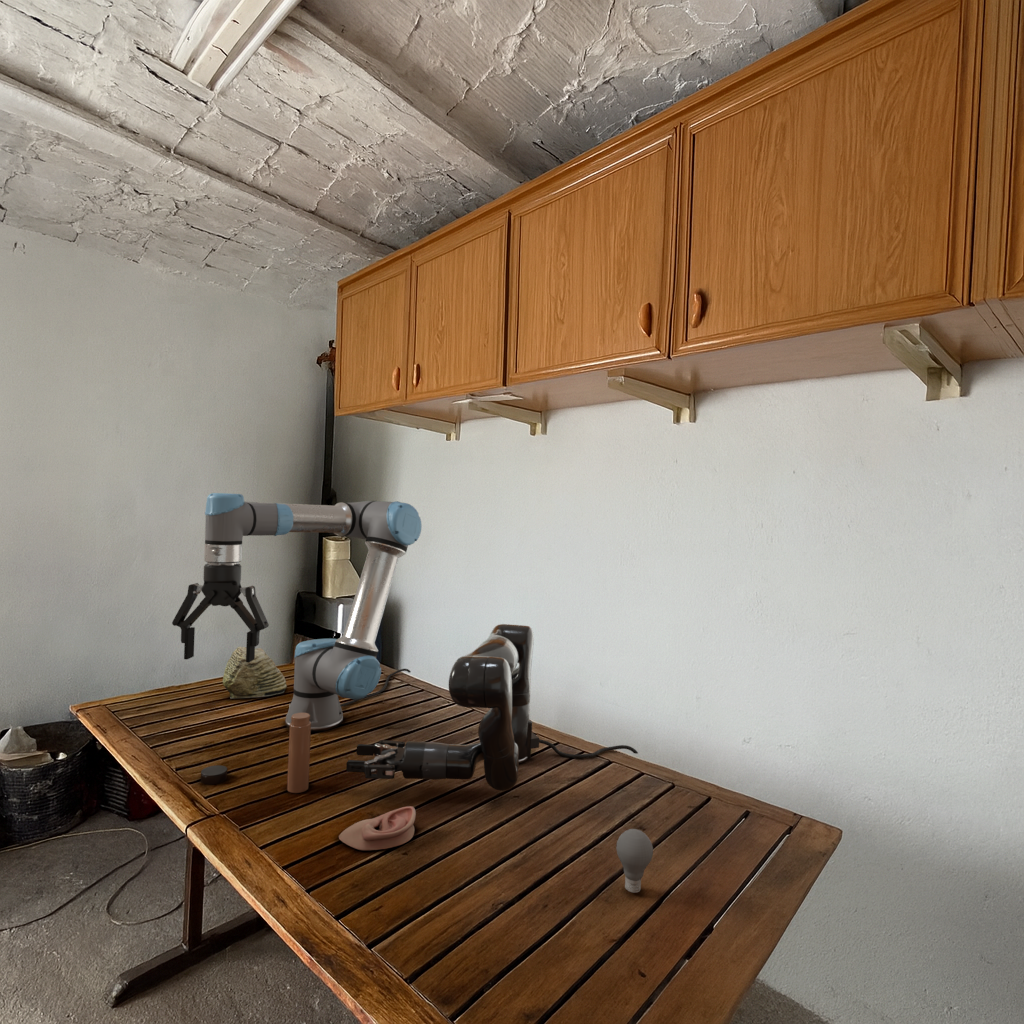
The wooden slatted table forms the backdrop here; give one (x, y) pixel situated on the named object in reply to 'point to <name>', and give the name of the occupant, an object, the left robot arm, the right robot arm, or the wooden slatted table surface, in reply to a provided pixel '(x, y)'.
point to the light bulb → (634, 857)
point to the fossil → (252, 675)
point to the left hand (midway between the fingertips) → (219, 659)
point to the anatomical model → (381, 830)
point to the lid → (214, 774)
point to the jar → (299, 753)
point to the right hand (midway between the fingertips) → (352, 757)
